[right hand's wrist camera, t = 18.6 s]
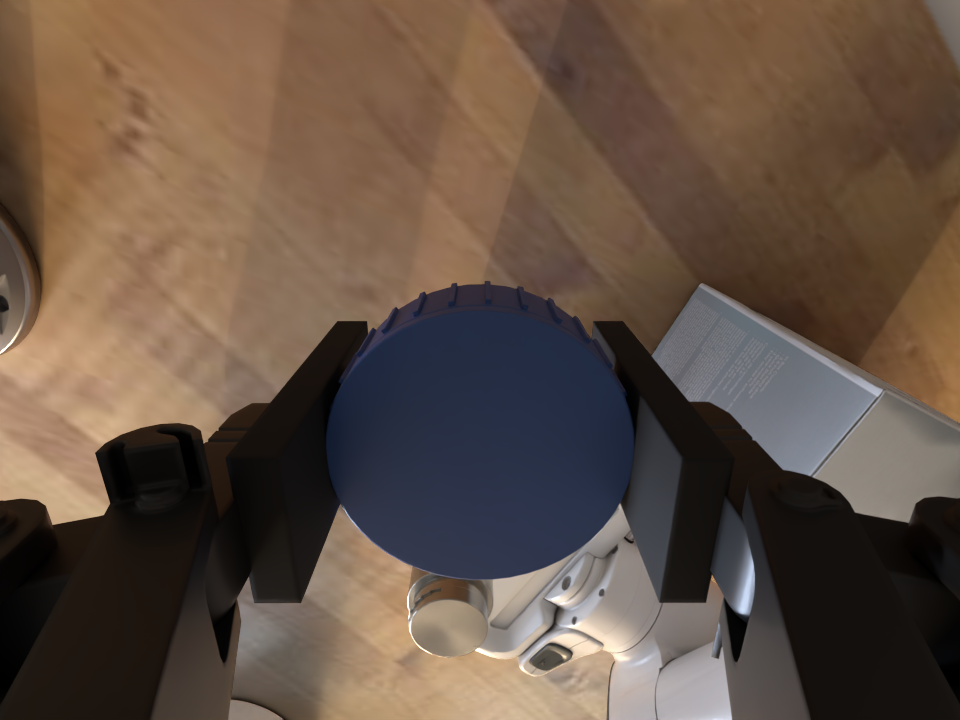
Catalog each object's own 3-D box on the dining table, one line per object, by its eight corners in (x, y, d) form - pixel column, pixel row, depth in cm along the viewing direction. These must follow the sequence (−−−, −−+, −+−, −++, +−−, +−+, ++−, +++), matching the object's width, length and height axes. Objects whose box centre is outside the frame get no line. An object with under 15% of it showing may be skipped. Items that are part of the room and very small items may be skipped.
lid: (472, 562, 14) (470, 627, 12) (289, 403, 12) (254, 450, 10) (668, 420, 12) (702, 469, 10) (491, 217, 10) (493, 232, 9)
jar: (428, 429, 44) (397, 597, 28) (486, 425, 44) (491, 591, 28) (434, 479, 46) (409, 664, 30) (490, 475, 46) (497, 659, 29)
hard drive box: (862, 365, 42) (1164, 537, 24) (799, 442, 45) (1027, 651, 26) (698, 277, 40) (892, 392, 21) (641, 363, 42) (769, 534, 23)
